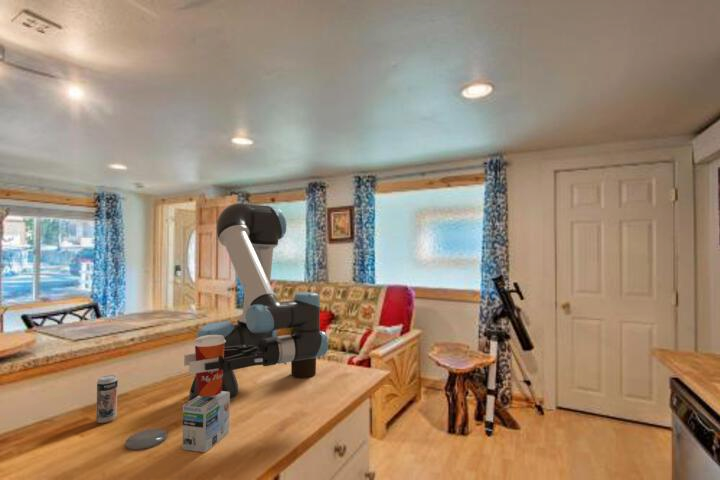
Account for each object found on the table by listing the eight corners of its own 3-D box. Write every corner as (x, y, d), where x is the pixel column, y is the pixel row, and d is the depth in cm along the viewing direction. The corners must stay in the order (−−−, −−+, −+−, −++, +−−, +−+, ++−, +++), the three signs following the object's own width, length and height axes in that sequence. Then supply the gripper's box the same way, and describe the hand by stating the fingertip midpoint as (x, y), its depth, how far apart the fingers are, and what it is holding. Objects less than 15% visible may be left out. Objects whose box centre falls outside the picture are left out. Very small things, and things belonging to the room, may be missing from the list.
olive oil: (322, 375, 141) (322, 310, 142) (297, 380, 135) (298, 313, 136) (308, 368, 150) (309, 307, 151) (285, 373, 144) (285, 309, 144)
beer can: (94, 425, 100) (95, 381, 100) (97, 418, 104) (98, 376, 104) (115, 422, 102) (116, 378, 102) (117, 415, 106) (118, 373, 107)
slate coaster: (116, 449, 88) (116, 445, 88) (142, 431, 97) (142, 427, 97) (150, 451, 87) (150, 448, 87) (174, 433, 96) (174, 429, 96)
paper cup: (205, 401, 88) (205, 342, 88) (187, 394, 92) (187, 338, 92) (232, 390, 94) (232, 336, 95) (214, 385, 98) (214, 332, 99)
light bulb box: (205, 453, 86) (206, 407, 87) (180, 450, 88) (181, 405, 88) (230, 431, 97) (230, 390, 97) (207, 429, 98) (208, 388, 98)
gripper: (289, 373, 94) (193, 392, 82) (263, 355, 111) (180, 368, 98) (289, 344, 95) (194, 358, 82) (264, 330, 111) (181, 340, 99)
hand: (186, 364), depth 90 cm, fingers open, 7 cm apart
